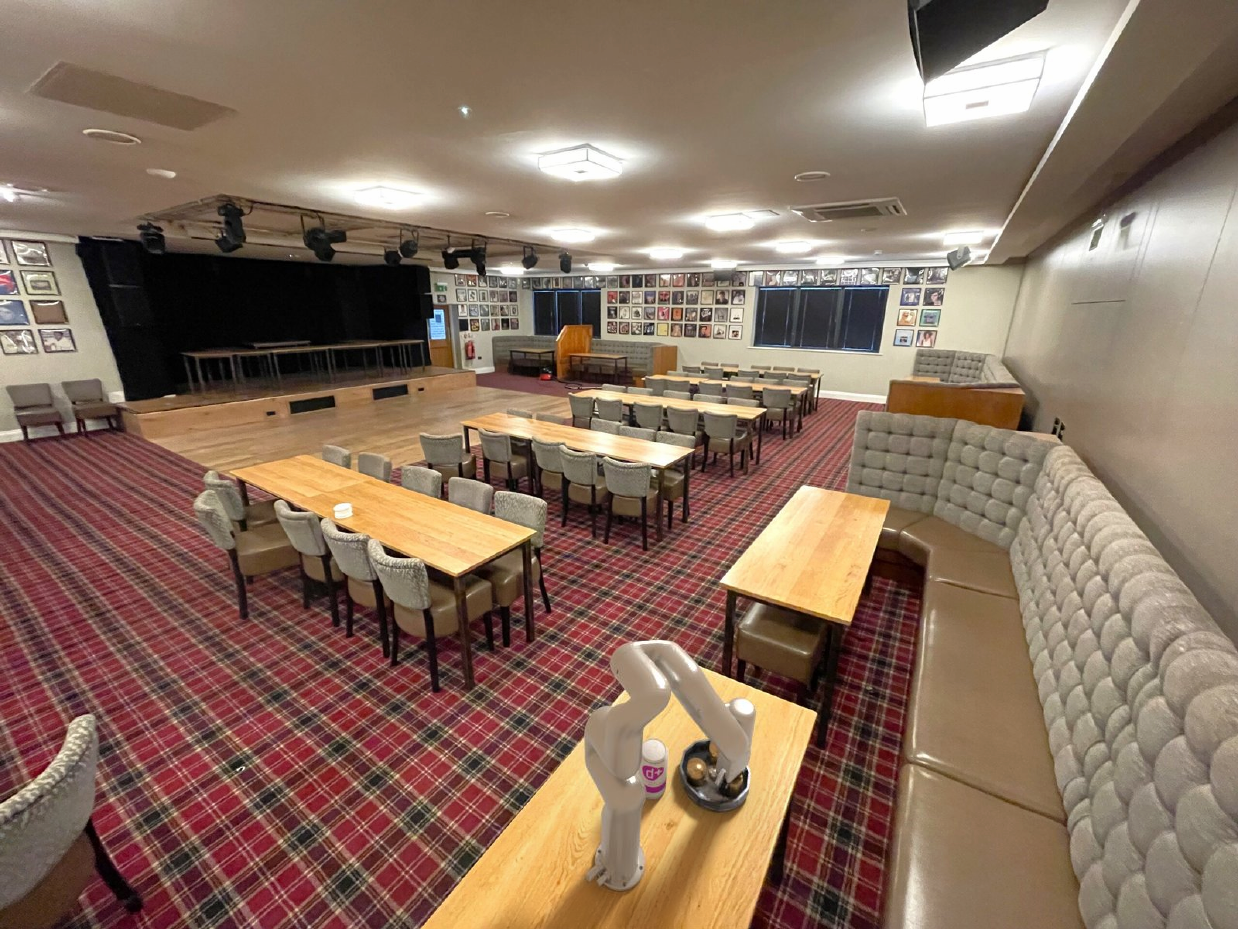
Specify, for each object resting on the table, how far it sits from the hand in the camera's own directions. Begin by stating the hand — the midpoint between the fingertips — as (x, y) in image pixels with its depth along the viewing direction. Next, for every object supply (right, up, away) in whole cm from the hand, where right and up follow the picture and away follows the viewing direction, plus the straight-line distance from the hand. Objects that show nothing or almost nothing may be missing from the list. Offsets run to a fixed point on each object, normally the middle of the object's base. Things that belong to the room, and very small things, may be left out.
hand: (730, 786), depth 141 cm
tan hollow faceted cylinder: (0, 0, 0) cm, 0 cm away
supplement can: (-22, -2, +2) cm, 23 cm away
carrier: (-4, -1, +5) cm, 6 cm away
